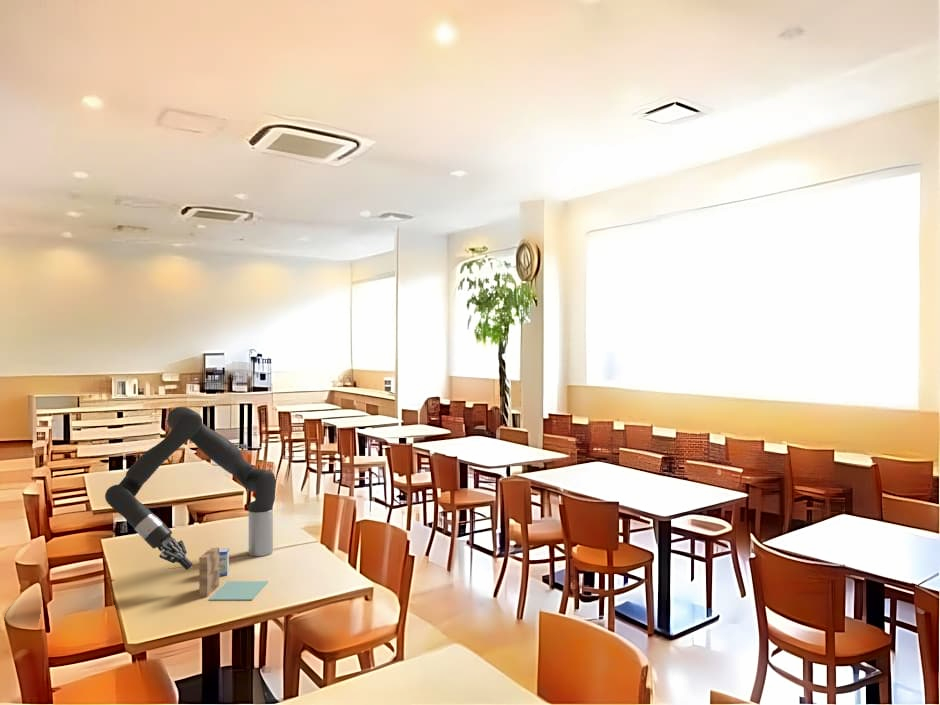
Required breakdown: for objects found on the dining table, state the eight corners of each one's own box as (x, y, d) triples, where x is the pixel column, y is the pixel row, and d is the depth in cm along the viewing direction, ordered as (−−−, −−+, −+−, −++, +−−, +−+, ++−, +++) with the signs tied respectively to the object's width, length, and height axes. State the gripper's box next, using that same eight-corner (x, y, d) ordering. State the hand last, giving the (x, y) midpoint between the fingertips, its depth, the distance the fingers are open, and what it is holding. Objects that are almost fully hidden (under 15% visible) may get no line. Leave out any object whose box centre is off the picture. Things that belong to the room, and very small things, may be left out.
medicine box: (204, 577, 223) (203, 553, 223) (205, 573, 228) (205, 549, 228) (227, 575, 225) (227, 551, 225) (228, 571, 230) (228, 547, 230)
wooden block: (211, 585, 216) (211, 547, 216) (219, 585, 216) (219, 547, 216) (199, 597, 206) (199, 557, 206) (207, 597, 206) (207, 557, 206)
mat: (227, 582, 219) (227, 581, 219) (267, 582, 219) (267, 581, 219) (208, 600, 203) (208, 599, 203) (252, 600, 203) (252, 599, 203)
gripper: (151, 528, 204) (189, 566, 204) (170, 517, 217) (206, 553, 217) (135, 544, 204) (172, 582, 204) (155, 533, 217) (190, 568, 217)
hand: (189, 567), depth 210 cm, fingers closed
